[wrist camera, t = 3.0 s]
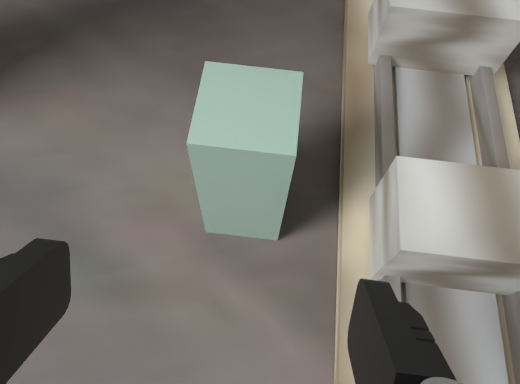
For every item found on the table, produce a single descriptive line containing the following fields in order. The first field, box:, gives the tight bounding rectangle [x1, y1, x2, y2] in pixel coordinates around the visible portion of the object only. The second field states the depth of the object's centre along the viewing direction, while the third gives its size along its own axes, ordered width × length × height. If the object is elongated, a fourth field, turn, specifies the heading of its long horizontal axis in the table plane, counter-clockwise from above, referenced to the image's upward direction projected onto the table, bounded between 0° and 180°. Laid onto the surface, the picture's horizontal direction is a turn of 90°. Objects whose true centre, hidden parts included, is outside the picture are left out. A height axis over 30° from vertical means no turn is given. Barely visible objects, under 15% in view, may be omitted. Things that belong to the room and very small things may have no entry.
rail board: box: [334, 0, 520, 384], centre depth 26 cm, size 12×32×7 cm, turn 174°
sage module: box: [187, 61, 303, 240], centre depth 22 cm, size 4×4×10 cm
